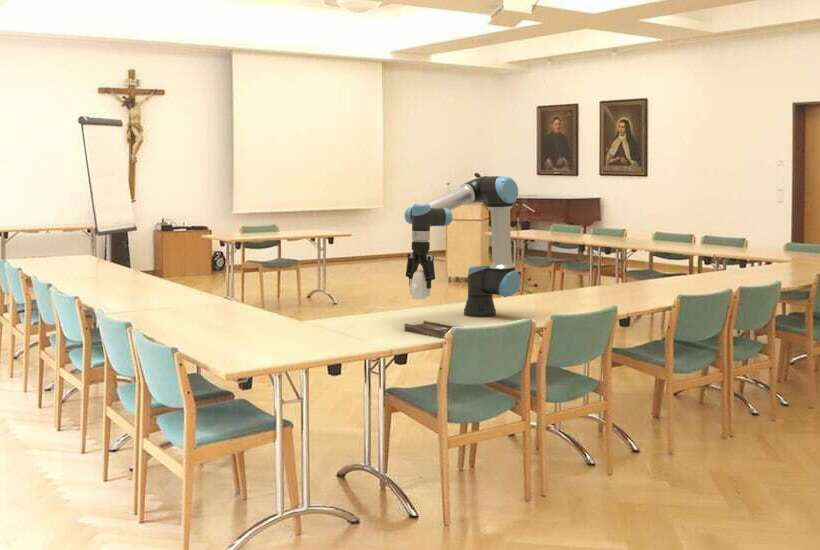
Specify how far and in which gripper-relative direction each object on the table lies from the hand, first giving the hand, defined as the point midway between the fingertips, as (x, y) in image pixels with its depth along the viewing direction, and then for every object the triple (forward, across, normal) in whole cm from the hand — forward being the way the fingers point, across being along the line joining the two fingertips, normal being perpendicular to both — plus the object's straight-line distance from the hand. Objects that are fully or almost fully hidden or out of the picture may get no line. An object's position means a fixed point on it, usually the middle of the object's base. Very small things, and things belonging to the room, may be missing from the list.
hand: (419, 295), depth 374 cm
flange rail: (+15, +8, 0) cm, 17 cm away
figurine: (+1, 0, 0) cm, 1 cm away
